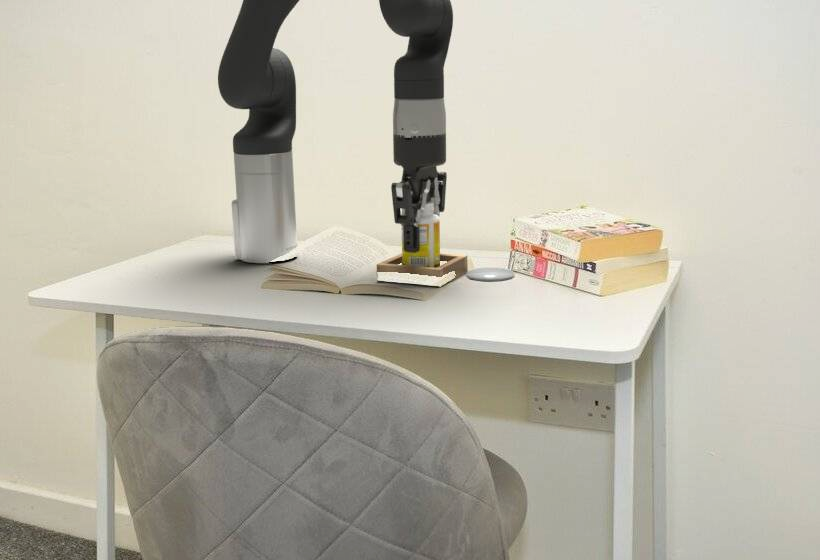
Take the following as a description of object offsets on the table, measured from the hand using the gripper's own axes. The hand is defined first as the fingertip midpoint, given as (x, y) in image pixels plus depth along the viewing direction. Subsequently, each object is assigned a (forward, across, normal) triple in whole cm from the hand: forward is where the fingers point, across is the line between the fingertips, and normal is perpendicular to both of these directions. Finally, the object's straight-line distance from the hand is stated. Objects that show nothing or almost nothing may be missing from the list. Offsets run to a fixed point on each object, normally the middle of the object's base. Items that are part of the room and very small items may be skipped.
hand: (420, 247), depth 139 cm
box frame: (+4, 0, 0) cm, 4 cm away
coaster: (+4, -4, +9) cm, 11 cm away
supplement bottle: (+4, 0, 0) cm, 4 cm away
